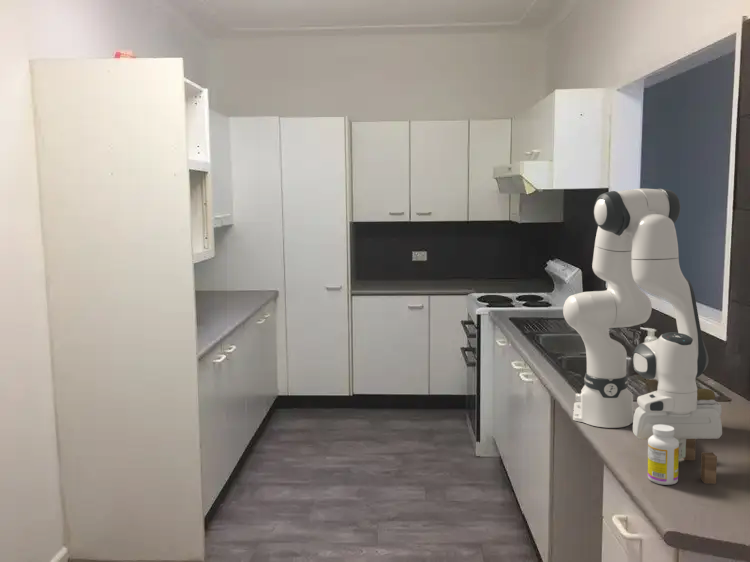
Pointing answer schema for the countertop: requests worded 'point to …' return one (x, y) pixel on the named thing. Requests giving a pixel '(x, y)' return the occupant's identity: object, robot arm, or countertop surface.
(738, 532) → the countertop surface
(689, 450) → the fence
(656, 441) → the supplement bottle
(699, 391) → the cork
